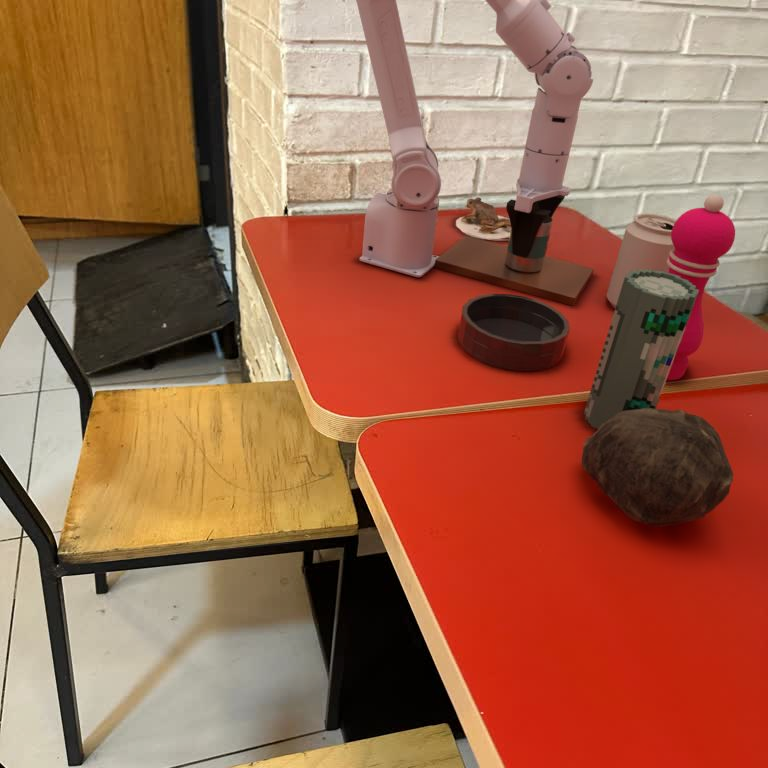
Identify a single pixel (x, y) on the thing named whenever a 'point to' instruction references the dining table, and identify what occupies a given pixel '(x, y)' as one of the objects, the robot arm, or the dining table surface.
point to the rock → (659, 465)
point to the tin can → (536, 254)
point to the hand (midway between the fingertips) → (526, 248)
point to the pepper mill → (697, 265)
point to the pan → (513, 332)
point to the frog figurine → (484, 222)
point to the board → (490, 266)
